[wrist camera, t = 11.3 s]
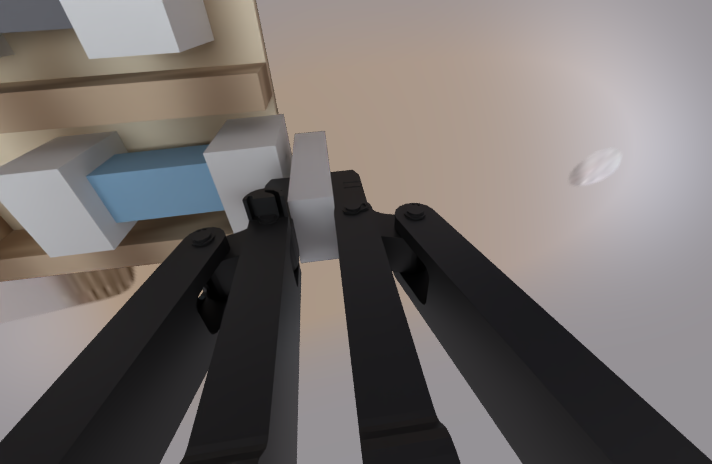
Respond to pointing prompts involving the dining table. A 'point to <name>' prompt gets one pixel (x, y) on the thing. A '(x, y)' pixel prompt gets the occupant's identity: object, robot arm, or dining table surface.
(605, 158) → the dining table surface
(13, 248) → the wooden compartment tray
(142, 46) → the blocky gray dumbbell
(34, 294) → the dining table surface
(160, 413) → the robot arm
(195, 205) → the blocky blue dumbbell
